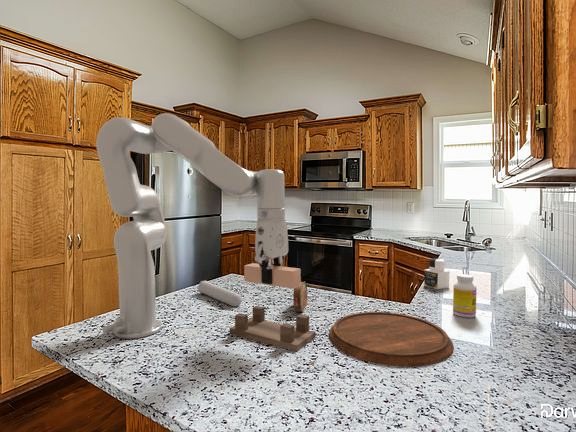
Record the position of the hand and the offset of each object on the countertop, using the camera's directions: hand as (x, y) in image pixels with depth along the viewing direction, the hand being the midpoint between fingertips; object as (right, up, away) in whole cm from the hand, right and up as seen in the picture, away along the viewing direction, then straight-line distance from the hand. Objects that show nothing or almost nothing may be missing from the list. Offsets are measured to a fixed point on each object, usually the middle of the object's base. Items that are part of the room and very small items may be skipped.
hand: (271, 280), depth 94 cm
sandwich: (+9, -14, +25) cm, 30 cm away
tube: (-21, -14, +35) cm, 43 cm away
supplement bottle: (+62, -14, +17) cm, 65 cm away
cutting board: (+32, -16, -1) cm, 35 cm away
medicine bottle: (+68, -13, +52) cm, 87 cm away
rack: (0, -15, +1) cm, 15 cm away
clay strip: (0, -1, 0) cm, 1 cm away
